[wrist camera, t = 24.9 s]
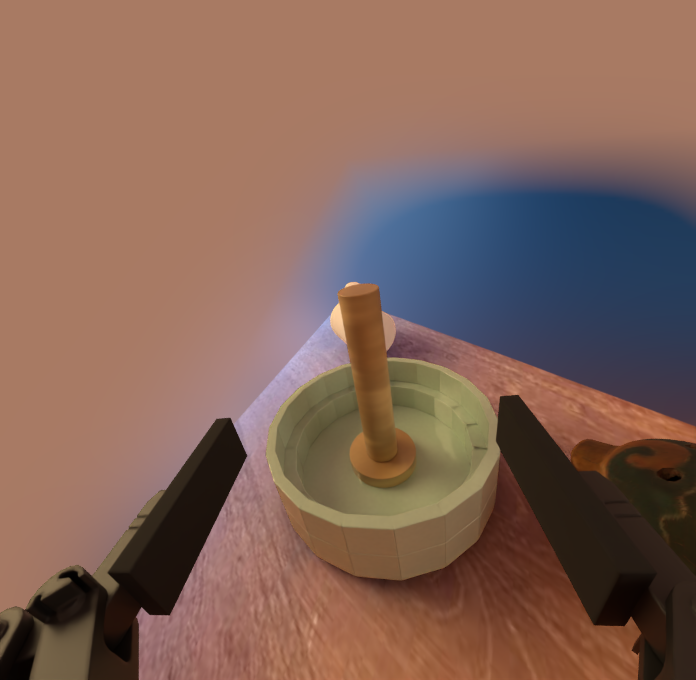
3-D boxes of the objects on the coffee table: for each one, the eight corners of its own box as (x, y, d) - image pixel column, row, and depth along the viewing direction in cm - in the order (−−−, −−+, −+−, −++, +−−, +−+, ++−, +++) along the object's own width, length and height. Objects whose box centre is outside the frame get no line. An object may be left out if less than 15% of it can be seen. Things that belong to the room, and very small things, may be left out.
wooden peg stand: (340, 475, 26) (296, 304, 19) (366, 428, 31) (339, 278, 24) (406, 498, 23) (385, 305, 16) (423, 441, 28) (413, 275, 21)
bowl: (242, 522, 24) (215, 472, 22) (342, 390, 40) (334, 351, 37) (490, 652, 15) (498, 595, 12) (496, 416, 30) (500, 367, 28)
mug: (355, 365, 45) (343, 296, 40) (334, 343, 54) (322, 284, 49) (398, 350, 48) (392, 282, 42) (371, 331, 56) (363, 273, 51)
